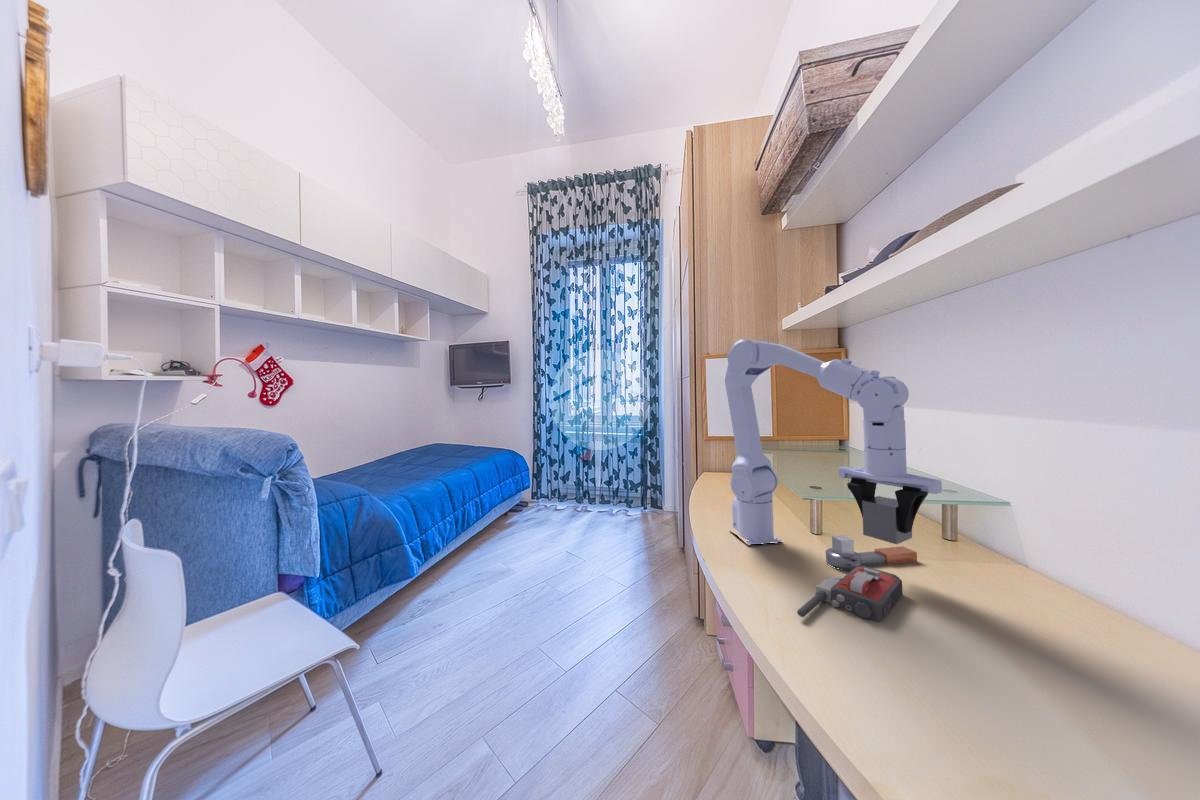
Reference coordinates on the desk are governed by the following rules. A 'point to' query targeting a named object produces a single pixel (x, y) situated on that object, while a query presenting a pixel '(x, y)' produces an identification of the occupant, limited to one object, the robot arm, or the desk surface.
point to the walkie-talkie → (859, 593)
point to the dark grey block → (883, 520)
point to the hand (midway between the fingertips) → (886, 526)
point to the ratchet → (864, 555)
